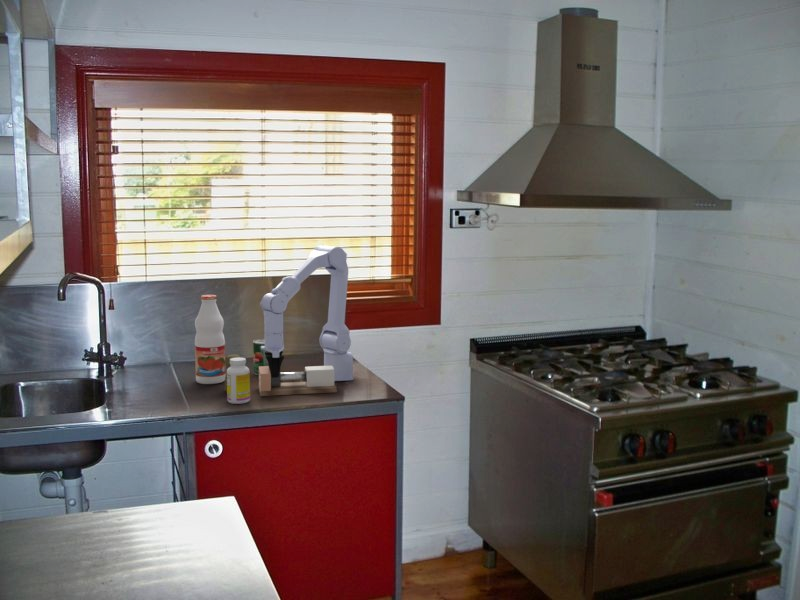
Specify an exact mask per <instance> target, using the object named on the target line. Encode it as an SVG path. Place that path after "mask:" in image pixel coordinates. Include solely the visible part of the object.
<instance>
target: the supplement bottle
mask: <svg viewBox="0 0 800 600" xmlns="http://www.w3.org/2000/svg"><path fill="white" fill-rule="evenodd" d="M246 363H247V359H246V357H241V358H240V357H237V358H231V359H230V365H231V367H229V368H228V369H227V391H226V394H227V395H226V397H227V399H226V400H227V402H228V403H230V404H235V405H241V404H246V403H248V402H250V401H251V381H250V377H251V376H250V368H249V367H248V366H246Z"/></svg>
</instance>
